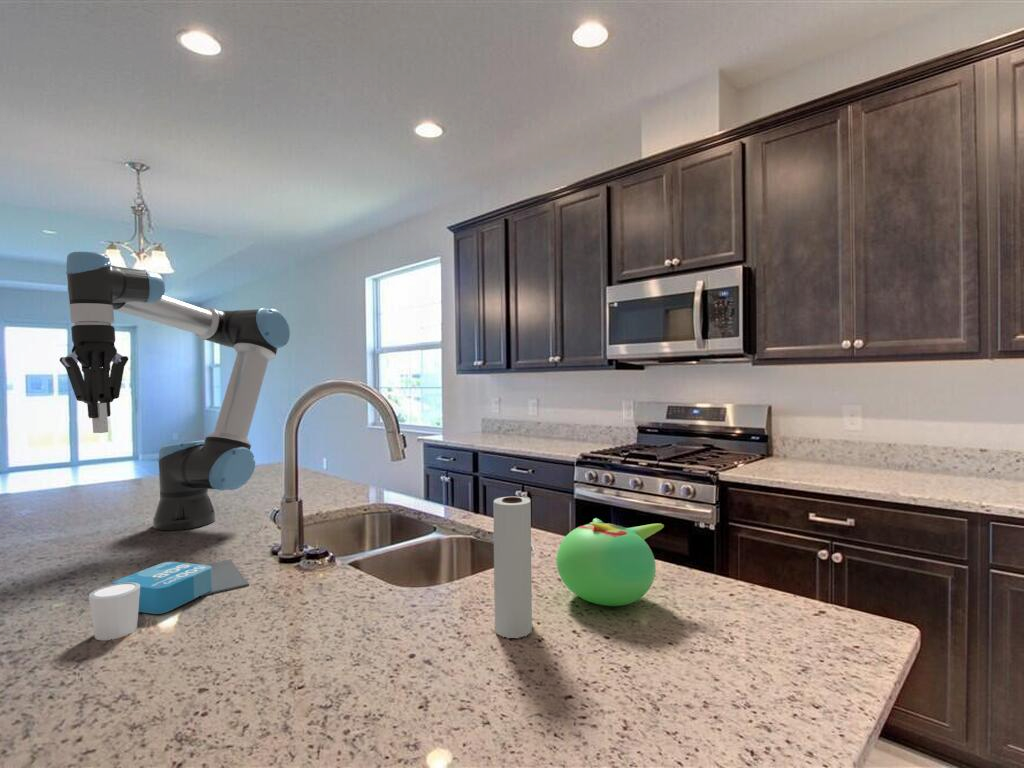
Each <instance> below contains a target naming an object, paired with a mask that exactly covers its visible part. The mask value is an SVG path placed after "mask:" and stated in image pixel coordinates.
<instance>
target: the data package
mask: <svg viewBox="0 0 1024 768" xmlns="http://www.w3.org/2000/svg"><path fill="white" fill-rule="evenodd" d="M129 582H132V583H138V584H140V596H139V608H138V613H146V614H151V615H152V614H153V615H161V614H165V613H168V612H170V611H172V610H175V609H177V608H179V607H181V606H182V605H185V604H187V603H189V602H191V601H193V600H195V599H197V598H200V597H199V596H201V595H203V594H205V593H208V592H210V591H211V590H212V567H211V566H208V565H206V564H198V563H187V562H178V561H164V562H161V563H159V564H156V565H153V566H150V567H148V568H145V569H142V570H139V571H137V572H135V573H132V574H130V575H127V576H124V577H122V578H118V579H117V580H114V581H113V582H112V585H113V584H119V583H129ZM201 597H202V596H201Z"/></svg>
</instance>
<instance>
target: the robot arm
mask: <svg viewBox="0 0 1024 768" xmlns="http://www.w3.org/2000/svg"><path fill="white" fill-rule="evenodd" d="M65 273H66V278H67V292H68V301H69V314H70V323H72V324H74V325H72V326H71V327H70V331H71V341H72V344H73V346H72V348H71V353H70V354H68V355H66V356H63V357H62V356H61V357H60V358H59V362H60V363H61V364H62V366H63V367H64V368H65V370H66V373H67V376H68V378H69V382H70V384H71V388H72V391H73V394H74V396H75V400H77V402H83V403H84V404H86V405H87V416H88V418H89V419H92V420H91V421H92V423H91V424H92V433H93V434H105V433H109V421H108V417H110V416H111V414H112V413H111V403H112V402H113V401H114V400H116V399H118V398H119V397H120V395H121V394H120V393H121V389H122V388H121V387H122V382H123V376H124V371H125V366H126V364H127V363H128V361H129V357H128V356H127V355H122V354H120V353H118V350H117V348H116V346H115V343H116V332H115V331H116V329H115V327H114V326H113V325H112V324H114V323H115V314H114V310H115V311H116V312H117V311H118V312H121V313H125V314H128V315H132V316H135V317H138V318H141V319H145V320H148V321H151V322H156V323H159V324H161V325H165V326H170V327H172V328H176V329H179V330H183V331H186V332H188V333H189V332H190V333H192V334H195V336H196V338H198V339H201V340H203V341H204V340H205V341H207V342H211V343H214V344H218V345H221V346H224V347H228V348H233V349H234V350H235V352H236V356H235V360H234V363H233V367H232V369H231V370H232V371H231V373H230V377H229V380H228V384H227V387H226V390H225V393H224V397H223V400H222V402H221V403H222V404H221V407H220V411H219V414H218V418H217V419H216V424H215V427H214V431H213V432H212V433H210V434H208V435H206V437H205V438H204V439H205V440H204V439H203V440H202V439H201V440H195V441H188V442H180V443H173V444H166V445H163V446H161V448H160V449H159V451H158V459H157V461H158V474H159V476H158V479H159V500H158V501H159V502H158V503H157V507H156V510H155V513H154V517H153V518H152V519H153V520H152V529H154V530H158V531H180V530H188V529H189V530H190V529H193V528H198V527H203V526H206V525H209V524H211V523H213V522H214V521H216V511H215V509H214V507H213V503H212V501H211V499H210V496H209V493H208V491H209V490H217V491H221V492H222V491H233V490H234V491H235V490H238V489H240V488H242V487H243V486H245V484H247V483H248V482H249V481H250V479H251V478H252V476H253V474H254V472H255V468H256V460H255V459H254V458H255V455H254V453H253V451H252V450H251V447H252V444H251V442H250V441H249V440H248V437H249V433H250V429H251V426H252V422H253V418H254V415H255V411H256V408H257V404H258V400H259V397H260V393H261V389H262V386H263V382H264V378H265V376H266V371H267V368H268V364H269V362H270V361H271V360H273V359H275V358H276V355H277V352H278V350H279V348H280V349H281V348H282V347H284V346H286V345H288V343H289V340H290V336H291V332H290V326H289V325H290V324H289V323H288V321H287V319H286V317H285V316H284V314H283V313H282V312H280V311H279V310H277V309H274V308H264V307H262V308H259V309H241V310H240V309H238V310H220V309H216V308H213V307H204V308H202V307H199V306H196V305H194V304H191V303H187V302H185V301H182V300H179V299H176V298H174V297H170V296H168V295H165V292H166V286H165V285H166V284H165V281H164V278H163V277H162V276H161V275H160V274H159V273H157V272H155V271H150V270H146V269H138V268H137V269H136V268H132V267H131V268H129V267H121V266H116V265H113V264H112V263H111V260H110V257H109V256H108V255H107V254H105V253H102V252H94V251H73V252H69V253H68V254H67V256H66V271H65ZM78 363H79V364H80V365H81V368H80V365H79V364H78ZM111 363H112V364H111ZM81 371H82V372H83V374H82V372H81Z"/></svg>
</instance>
